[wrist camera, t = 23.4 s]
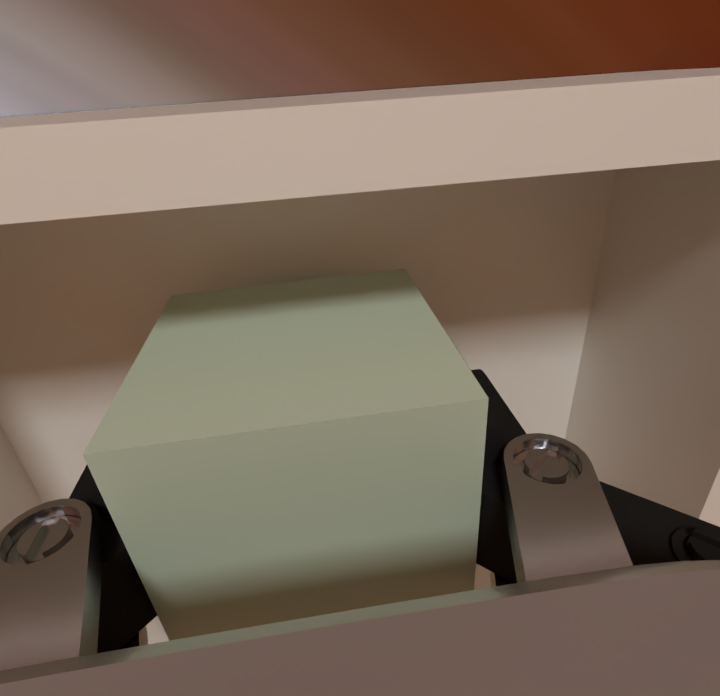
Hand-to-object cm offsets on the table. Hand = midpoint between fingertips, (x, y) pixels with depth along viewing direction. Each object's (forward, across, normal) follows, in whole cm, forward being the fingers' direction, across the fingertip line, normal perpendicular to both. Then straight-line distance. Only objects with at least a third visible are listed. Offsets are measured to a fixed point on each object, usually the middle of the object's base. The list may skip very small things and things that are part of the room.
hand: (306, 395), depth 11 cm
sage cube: (0, 0, 0) cm, 1 cm away
